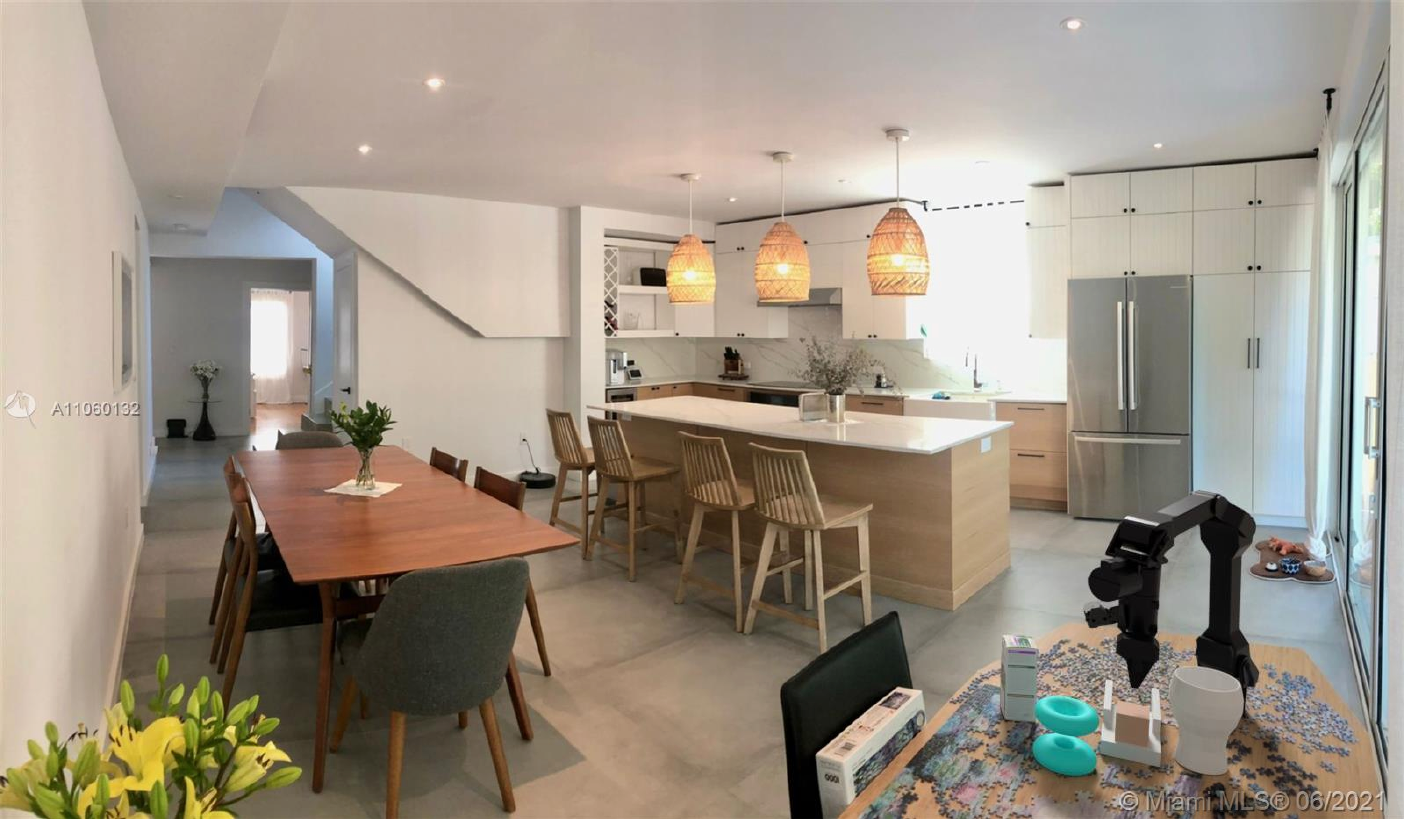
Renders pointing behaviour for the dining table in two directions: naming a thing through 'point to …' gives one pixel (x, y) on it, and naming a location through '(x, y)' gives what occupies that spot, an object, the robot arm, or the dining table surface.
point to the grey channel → (1125, 749)
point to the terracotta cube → (1132, 723)
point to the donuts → (1065, 735)
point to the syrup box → (1018, 678)
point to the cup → (1204, 716)
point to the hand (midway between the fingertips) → (1134, 678)
